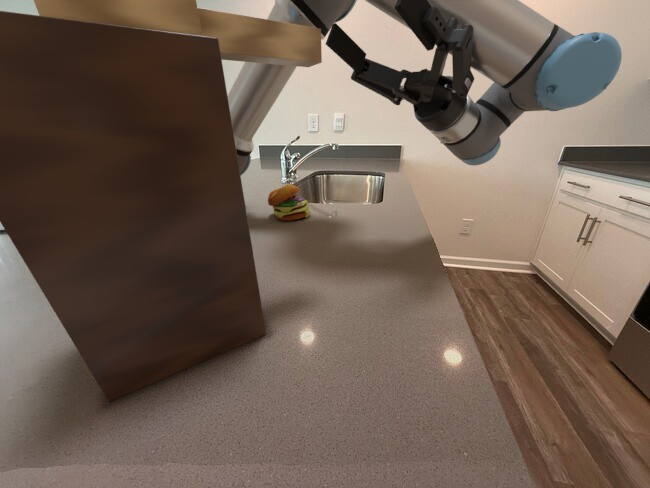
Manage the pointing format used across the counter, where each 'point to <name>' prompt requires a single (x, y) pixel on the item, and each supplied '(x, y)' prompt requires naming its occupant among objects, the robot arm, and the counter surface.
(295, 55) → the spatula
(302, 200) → the cheeseburger
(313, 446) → the counter surface
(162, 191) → the stand
